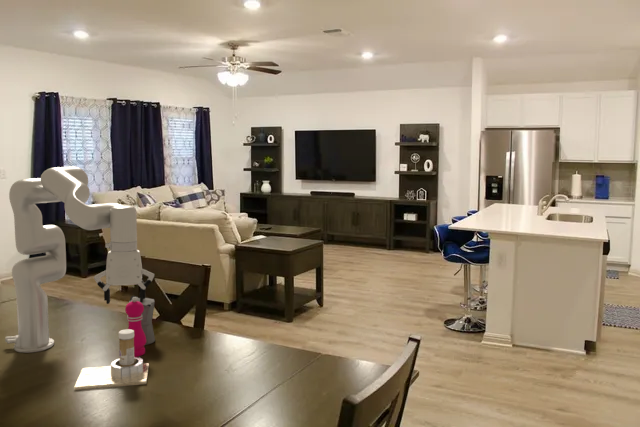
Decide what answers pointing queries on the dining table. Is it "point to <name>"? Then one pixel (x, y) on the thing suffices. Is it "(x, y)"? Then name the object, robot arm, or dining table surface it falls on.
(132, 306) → the pepper mill
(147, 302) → the coffeepot
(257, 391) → the dining table surface
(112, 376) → the white ring holder board
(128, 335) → the sprinkles bottle
